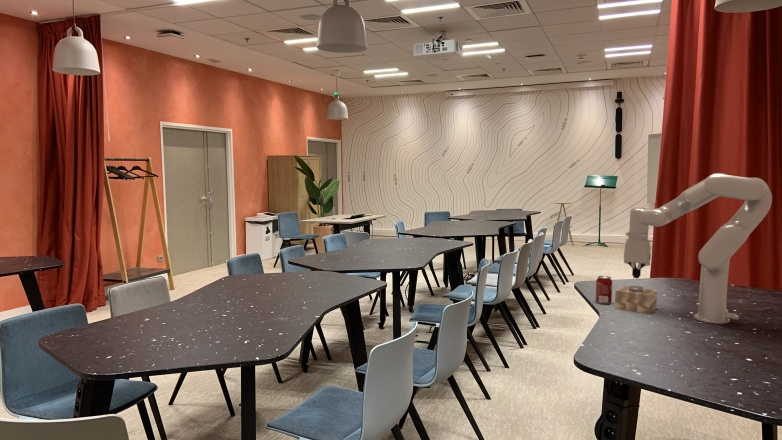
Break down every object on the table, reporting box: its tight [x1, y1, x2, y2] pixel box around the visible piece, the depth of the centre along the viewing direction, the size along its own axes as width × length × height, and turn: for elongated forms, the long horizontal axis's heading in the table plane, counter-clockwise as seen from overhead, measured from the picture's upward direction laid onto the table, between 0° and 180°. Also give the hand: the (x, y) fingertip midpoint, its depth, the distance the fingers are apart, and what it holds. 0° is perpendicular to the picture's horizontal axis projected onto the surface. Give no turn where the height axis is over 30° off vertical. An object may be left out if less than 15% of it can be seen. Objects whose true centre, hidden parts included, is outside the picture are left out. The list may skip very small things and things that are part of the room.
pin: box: [628, 285, 644, 292], centre depth 237 cm, size 6×6×9 cm
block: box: [614, 285, 658, 315], centre depth 237 cm, size 14×12×8 cm
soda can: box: [595, 275, 613, 305], centre depth 247 cm, size 7×7×12 cm
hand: (636, 277), depth 236 cm, fingers closed
